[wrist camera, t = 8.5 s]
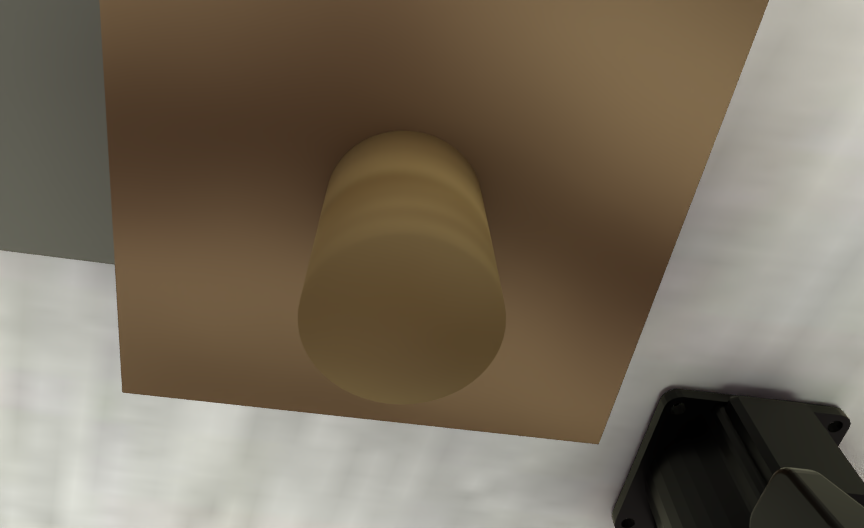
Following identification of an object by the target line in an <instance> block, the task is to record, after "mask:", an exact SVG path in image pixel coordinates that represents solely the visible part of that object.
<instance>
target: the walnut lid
mask: <svg viewBox="0 0 864 528" xmlns="http://www.w3.org/2000/svg"><path fill="white" fill-rule="evenodd" d="M768 2H769V0H99V3H100V20H101V37H102V54H103V71H104V88H105V105H106V122H107V139H108V156H109V173H110V190H111V207H112V224H113V241H114V258H115V275H116V293H117V310H118V327H119V344H120V361H121V378H122V392H123V393H132V394H141V395H150V396H160V397H169V398H178V399H187V400H196V401H206V402H215V403H224V404H233V405H242V406H252V407H261V408H270V409H279V410H288V411H298V412H307V413H316V414H325V415H334V416H343V417H353V418H362V419H371V420H380V421H389V422H399V423H408V424H417V425H426V426H435V427H445V428H454V429H463V430H472V431H481V432H491V433H500V434H509V435H518V436H527V437H536V438H546V439H555V440H564V441H573V442H582V443H592V444H599V442H600V439H601V436H602V434H603V431H604V429H605V426H606V423H607V421H608V418H609V416H610V413H611V410H612V408H613V405H614V403H615V400H616V397H617V395H618V392H619V390H620V387H621V384H622V382H623V379H624V377H625V374H626V371H627V369H628V366H629V364H630V361H631V358H632V356H633V353H634V351H635V348H636V345H637V343H638V340H639V338H640V335H641V332H642V330H643V327H644V324H645V322H646V319H647V317H648V314H649V311H650V309H651V306H652V304H653V301H654V298H655V296H656V293H657V291H658V288H659V285H660V283H661V280H662V278H663V275H664V272H665V270H666V267H667V265H668V262H669V259H670V257H671V254H672V252H673V249H674V246H675V244H676V241H677V239H678V236H679V233H680V231H681V228H682V226H683V223H684V220H685V218H686V215H687V213H688V210H689V207H690V205H691V202H692V199H693V197H694V194H695V192H696V189H697V186H698V184H699V181H700V179H701V176H702V173H703V171H704V168H705V166H706V163H707V160H708V158H709V155H710V153H711V150H712V147H713V145H714V142H715V140H716V137H717V134H718V132H719V129H720V127H721V124H722V121H723V119H724V116H725V114H726V111H727V108H728V106H729V103H730V101H731V98H732V95H733V93H734V90H735V88H736V85H737V82H738V80H739V77H740V74H741V72H742V69H743V67H744V64H745V61H746V59H747V56H748V54H749V51H750V48H751V46H752V43H753V41H754V38H755V35H756V33H757V30H758V28H759V25H760V22H761V20H762V17H763V15H764V12H765V9H766V7H767V4H768Z"/></svg>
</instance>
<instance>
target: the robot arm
mask: <svg viewBox="0 0 864 528" xmlns="http://www.w3.org/2000/svg"><path fill="white" fill-rule="evenodd" d="M676 403H681V404H679V405H677V406H673V405H674V404H676ZM850 424H851V423H850V419H849V418H848V417H847V416H846V414H845V413H844V412H843V411H842V410H841V409H840V408H837V407H830V406H821V405H813V404H806V403H799V402H791V401H782V400H774V399H765V398H757V397H748V396H736V395H728V394H719V393H711V392H702V391H694V390H685V389H673V390H670V391H668V392H666V393H665V394H663V396H662V397H661V399H660V401H659V403H658V406H657V408H656V410H655V413H654V415H653V418H652V420H651V422H650V425H649V427H648V429H647V432H646V434H645V437H644V439H643V441H642V444H641V446H640V448H639V451H638V453H637V455H636V458H635V460H634V463H633V465H632V467H631V470H630V472H629V474H628V477H627V479H626V482H625V484H624V486H623V489H622V491H621V493H620V496H619V498H618V501H617V503H616V505H615V508H614V510H613V512H612V519H613V523H614V526H615V528H864V482H863V481H862V479H861V478H860V477H859V475H858V474H857V472H856V471H855V470H854V468H853V467H852V465H851V464H850V463H849V461H848V460H847V458H846V457H845V456H844V454H843V453H842V451H841V450H840V449H839V447H838V446H839V444H840V442H841V441H842V439H843V437H844V436H845V434H846V432H847V431H848V429H849V427H850Z"/></svg>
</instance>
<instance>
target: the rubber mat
mask: <svg viewBox="0 0 864 528" xmlns="http://www.w3.org/2000/svg"><path fill="white" fill-rule="evenodd" d="M0 250H4V251H12V252H20V253H27V254H35V255H43V256H51V257H59V258H67V259H75V260H83V261H91V262H99V263H107V264H115V258H114V241H113V224H112V207H111V190H110V173H109V156H108V139H107V122H106V105H105V88H104V71H103V54H102V37H101V20H100V3H99V0H0Z"/></svg>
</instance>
